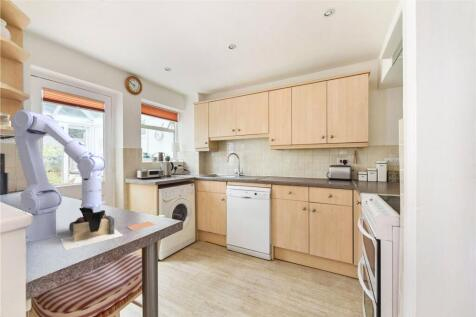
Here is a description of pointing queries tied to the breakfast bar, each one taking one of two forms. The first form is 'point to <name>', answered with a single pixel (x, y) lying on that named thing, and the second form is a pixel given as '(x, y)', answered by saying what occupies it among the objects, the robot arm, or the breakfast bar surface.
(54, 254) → the breakfast bar surface
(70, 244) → the rest mat
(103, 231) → the wooden tool caddy
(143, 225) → the tile
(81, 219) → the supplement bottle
